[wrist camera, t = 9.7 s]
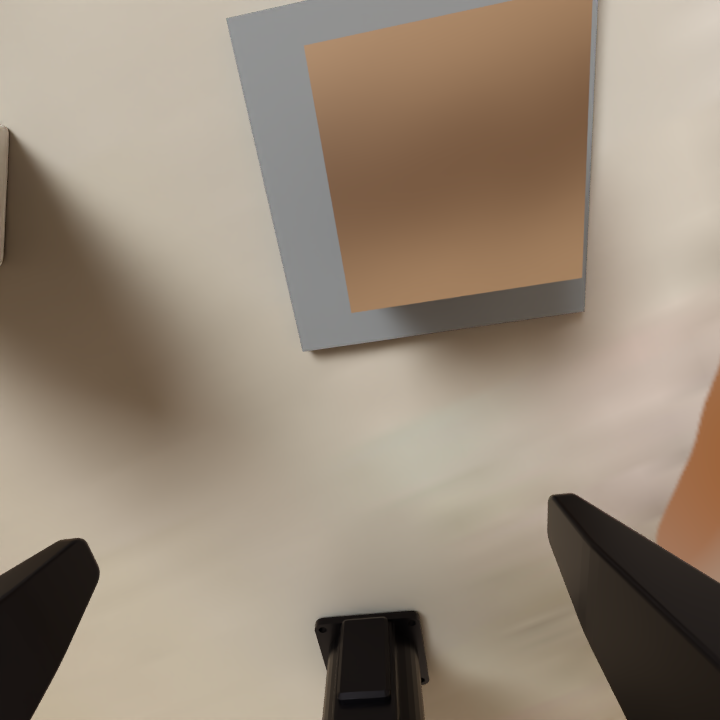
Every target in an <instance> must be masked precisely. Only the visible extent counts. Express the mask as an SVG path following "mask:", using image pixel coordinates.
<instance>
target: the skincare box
mask: <svg viewBox="0 0 720 720" xmlns="http://www.w3.org/2000/svg"><path fill="white" fill-rule="evenodd" d="M8 147H9V131H8V129H7V128H6V127H5V126H3V125H1V124H0V266H1V264H2V261H3V253H4V234H5V210H6V190H7V174H8Z"/></svg>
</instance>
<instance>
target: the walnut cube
mask: <svg viewBox="0 0 720 720" xmlns="http://www.w3.org/2000/svg"><path fill="white" fill-rule="evenodd" d="M592 2H593V0H512V1H507V2H503V3H498V4H494V5H489V6H484V7H480V8H475V9H470V10H466V11H461V12H457V13H452V14H447V15H443V16H438V17H434V18H429V19H424V20H420V21H415V22H410V23H406V24H401V25H397V26H392V27H387V28H383V29H378V30H373V31H369V32H364V33H360V34H355V35H350V36H346V37H341V38H336V39H332V40H327V41H323V42H318V43H313V44H309V45H304V50H305V55H306V61H307V66H308V72H309V78H310V83H311V89H312V95H313V100H314V106H315V111H316V117H317V123H318V128H319V134H320V139H321V145H322V151H323V156H324V162H325V168H326V173H327V179H328V184H329V190H330V196H331V201H332V207H333V212H334V218H335V224H336V229H337V235H338V240H339V246H340V252H341V257H342V263H343V269H344V274H345V280H346V285H347V291H348V297H349V302H350V308H351V313H355V312H362V311H368V310H375V309H381V308H388V307H395V306H401V305H408V304H414V303H421V302H427V301H434V300H440V299H447V298H453V297H460V296H467V295H473V294H480V293H486V292H493V291H499V290H506V289H512V288H519V287H526V286H532V285H539V284H545V283H552V282H558V281H565V280H571V279H578V278H582V267H583V240H584V214H585V187H586V161H587V134H588V108H589V82H590V55H591V29H592Z"/></svg>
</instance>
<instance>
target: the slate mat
mask: <svg viewBox="0 0 720 720" xmlns="http://www.w3.org/2000/svg"><path fill="white" fill-rule="evenodd" d="M507 1H512V0H306V1H302V2H297V3H293V4H288V5H284V6H279V7H275V8H270V9H266V10H261V11H257V12H252V13H248V14H244V15H239V16H235V17H230V18H226V20H227V24H228V29H229V33H230V37H231V42H232V46H233V51H234V55H235V59H236V64H237V68H238V72H239V77H240V81H241V85H242V90H243V94H244V98H245V103H246V107H247V111H248V116H249V120H250V124H251V129H252V133H253V137H254V142H255V146H256V151H257V155H258V159H259V164H260V168H261V172H262V177H263V181H264V185H265V190H266V194H267V198H268V203H269V207H270V211H271V216H272V220H273V224H274V229H275V233H276V237H277V242H278V246H279V251H280V255H281V259H282V264H283V268H284V272H285V277H286V281H287V285H288V290H289V294H290V298H291V303H292V307H293V311H294V316H295V320H296V324H297V329H298V333H299V338H300V342H301V346H302V351H303V352H304V351H311V350H318V349H325V348H332V347H339V346H346V345H353V344H360V343H367V342H374V341H381V340H388V339H395V338H402V337H409V336H416V335H422V334H429V333H436V332H443V331H450V330H457V329H464V328H471V327H478V326H485V325H492V324H499V323H506V322H513V321H520V320H527V319H534V318H541V317H548V316H555V315H562V314H569V313H576V312H583V311H584V307H585V284H586V261H587V238H588V215H589V193H590V170H591V147H592V124H593V101H594V78H595V55H596V32H597V9H598V0H593V2H592V29H591V55H590V82H589V108H588V134H587V161H586V187H585V214H584V240H583V267H582V278H578V279H571V280H565V281H558V282H552V283H545V284H539V285H532V286H526V287H519V288H512V289H506V290H499V291H493V292H486V293H480V294H473V295H467V296H460V297H453V298H447V299H440V300H434V301H427V302H421V303H414V304H408V305H401V306H395V307H388V308H381V309H375V310H368V311H362V312H355V313H351V308H350V302H349V297H348V291H347V285H346V280H345V274H344V269H343V263H342V257H341V252H340V246H339V240H338V235H337V229H336V224H335V218H334V212H333V207H332V201H331V196H330V190H329V184H328V179H327V173H326V168H325V162H324V156H323V151H322V145H321V139H320V134H319V128H318V123H317V117H316V111H315V106H314V100H313V95H312V89H311V83H310V78H309V72H308V66H307V61H306V55H305V50H304V45H309V44H313V43H318V42H323V41H327V40H332V39H336V38H341V37H346V36H350V35H355V34H360V33H364V32H369V31H373V30H378V29H383V28H387V27H392V26H397V25H401V24H406V23H410V22H415V21H420V20H424V19H429V18H434V17H438V16H443V15H447V14H452V13H457V12H461V11H466V10H470V9H475V8H480V7H484V6H489V5H494V4H498V3H503V2H507Z"/></svg>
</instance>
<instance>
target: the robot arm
mask: <svg viewBox="0 0 720 720" xmlns="http://www.w3.org/2000/svg"><path fill="white" fill-rule="evenodd" d="M547 532H548V538H549V542H550V545H551V548H552V551H553V553H554V556H555V558H556V561H557V564H558V566H559V569H560V572H561V574H562V577H563V579H564V582H565V585H566V587H567V590H568V593H569V595H570V598H571V600H572V603H573V606H574V608H575V611H576V613H577V616H578V619H579V621H580V624H581V626H582V629H583V631H584V633H585V636H586V638H587V640H588V642H589V644H590V646H591V648H592V650H593V652H594V654H595V656H596V658H597V661H598V663H599V665H600V667H601V669H602V671H603V673H604V675H605V677H606V679H607V681H608V683H609V685H610V687H611V689H612V691H613V693H614V695H615V697H616V699H617V701H618V703H619V705H620V707H621V709H622V711H623V713H624V715H625V717H626V719H627V720H720V583H719V582H717V581H715V580H714V579H712V578H710V577H709V576H707V575H706V574H704V573H703V572H701V571H699V570H698V569H696V568H694V567H693V566H691V565H690V564H688V563H686V562H685V561H683V560H681V559H680V558H678V557H677V556H675V555H673V554H672V553H670V552H668V551H667V550H665V549H664V548H662V547H660V546H659V545H657V544H655V543H654V542H652V541H651V540H649V539H647V538H646V537H644V536H642V535H641V534H639V533H638V532H636V531H634V530H633V529H631V528H629V527H628V526H626V525H625V524H623V523H621V522H620V521H618V520H616V519H615V518H613V517H612V516H610V515H608V514H607V513H605V512H603V511H602V510H600V509H599V508H597V507H595V506H594V505H592V504H590V503H589V502H587V501H586V500H584V499H582V498H581V497H579V496H577V495H575V494H573V493H566V494H555V495H551V496H550V497H549V500H548V523H547ZM99 575H100V571H99V567H98V564H97V562H96V560H95V558H94V556H93V554H92V552H91V550H90V548H89V546H88V544H87V542H86V541H85V540H84V539H81V538H73V539H63V540H60V541H57V542H56V543H54V544H52V545H51V546H49V547H47V548H45V549H44V550H42V551H40V552H39V553H37V554H35V555H34V556H32V557H30V558H29V559H27V560H25V561H24V562H22V563H20V564H19V565H17V566H15V567H14V568H12V569H10V570H9V571H7V572H5V573H4V574H2V575H0V720H31V718H32V716H33V714H34V712H35V711H36V709H37V707H38V705H39V703H40V701H41V700H42V698H43V696H44V694H45V692H46V690H47V689H48V687H49V685H50V683H51V681H52V679H53V678H54V676H55V674H56V672H57V670H58V668H59V666H60V664H61V662H62V660H63V658H64V656H65V653H66V651H67V649H68V647H69V645H70V642H71V640H72V638H73V636H74V634H75V631H76V629H77V627H78V625H79V623H80V620H81V618H82V616H83V614H84V612H85V609H86V607H87V605H88V603H89V601H90V598H91V596H92V594H93V592H94V590H95V587H96V585H97V583H98V580H99ZM315 633H316V636H317V639H318V643H319V646H320V649H321V653H322V656H323V659H324V663H325V666H326V669H327V677H326V687H325V697H324V707H323V717H322V720H425V717H424V707H423V696H422V686H421V685H424V684H427V683H428V682H429V676H428V669H427V662H426V656H425V650H424V643H423V637H422V631H421V624H420V618H419V614H418V613H416V612H414V611H405V612H393V613H381V614H369V615H356V616H344V617H332V618H321V619H318V620H317V621H316V624H315Z"/></svg>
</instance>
